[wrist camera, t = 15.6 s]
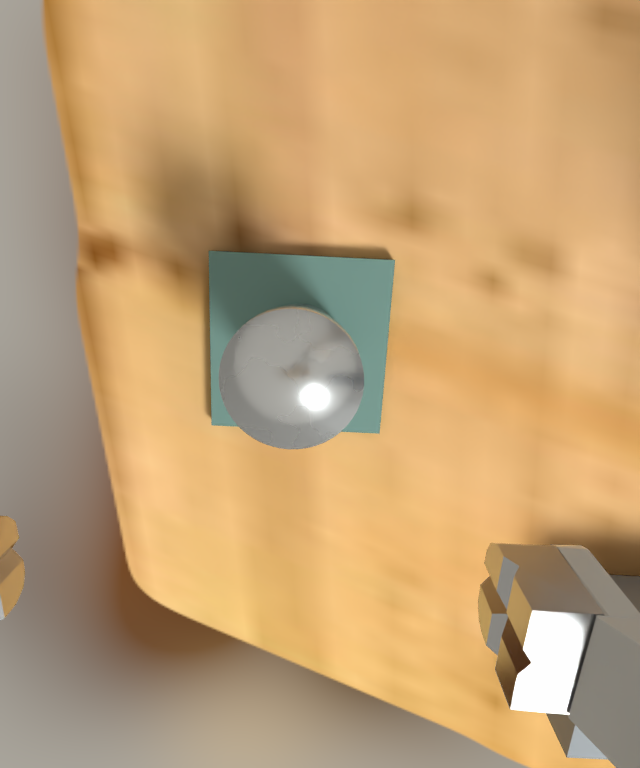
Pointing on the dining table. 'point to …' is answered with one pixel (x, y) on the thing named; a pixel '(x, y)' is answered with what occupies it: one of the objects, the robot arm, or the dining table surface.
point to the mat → (313, 287)
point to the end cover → (291, 377)
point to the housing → (565, 729)
